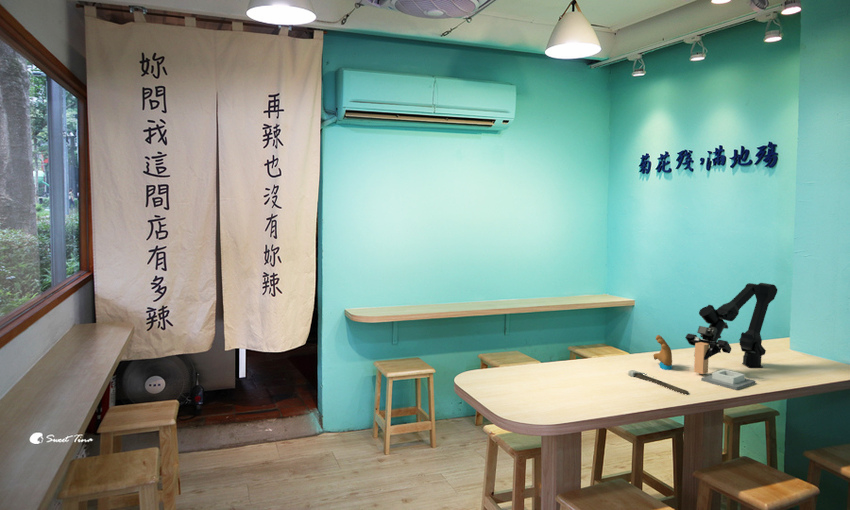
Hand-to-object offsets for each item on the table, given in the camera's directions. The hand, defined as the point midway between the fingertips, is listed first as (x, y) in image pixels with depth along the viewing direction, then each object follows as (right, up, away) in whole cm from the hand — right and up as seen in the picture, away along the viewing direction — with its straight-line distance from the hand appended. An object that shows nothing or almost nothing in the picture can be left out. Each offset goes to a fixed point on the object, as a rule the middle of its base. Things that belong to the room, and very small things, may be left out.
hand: (699, 358), depth 252 cm
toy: (-11, -7, +14) cm, 19 cm away
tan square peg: (+1, -7, +1) cm, 7 cm away
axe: (-21, -10, -10) cm, 25 cm away
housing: (+8, -9, -9) cm, 14 cm away
